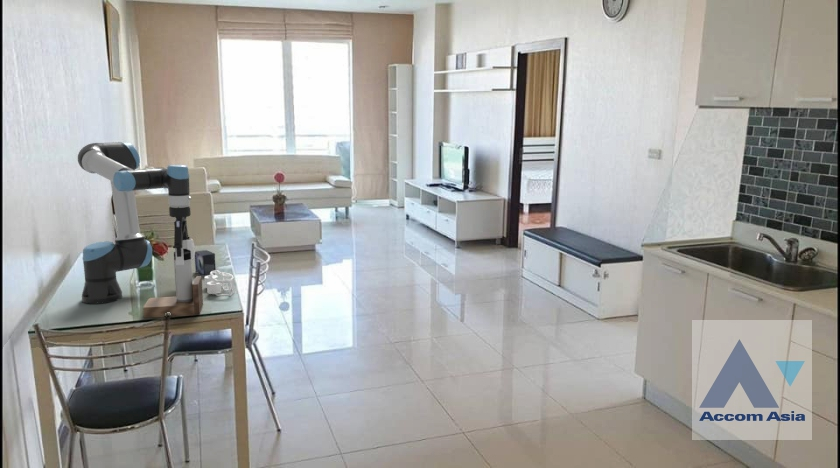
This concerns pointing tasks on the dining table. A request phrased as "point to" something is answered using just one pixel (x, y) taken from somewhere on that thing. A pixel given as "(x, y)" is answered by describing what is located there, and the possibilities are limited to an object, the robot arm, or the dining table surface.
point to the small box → (204, 262)
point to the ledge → (175, 304)
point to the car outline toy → (219, 283)
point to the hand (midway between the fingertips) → (182, 260)
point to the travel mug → (184, 278)
